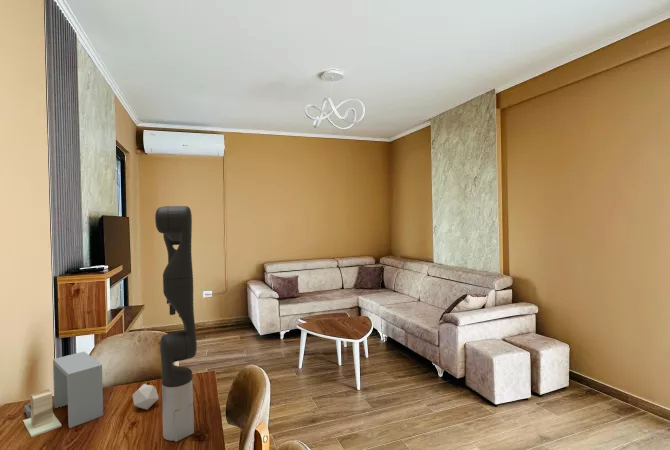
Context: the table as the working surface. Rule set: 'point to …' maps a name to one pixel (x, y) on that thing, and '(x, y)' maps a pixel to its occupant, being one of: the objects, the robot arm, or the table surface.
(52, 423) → the pad
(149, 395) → the die
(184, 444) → the table surface
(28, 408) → the trap pit
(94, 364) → the grey tunnel
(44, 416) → the birch block
